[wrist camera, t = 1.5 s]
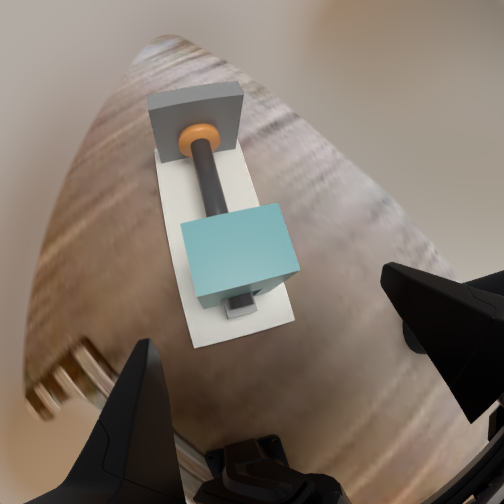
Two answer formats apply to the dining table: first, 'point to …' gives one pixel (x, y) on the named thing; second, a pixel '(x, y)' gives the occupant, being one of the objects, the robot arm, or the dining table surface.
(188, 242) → the teal block on rod
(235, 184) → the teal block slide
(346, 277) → the dining table surface
